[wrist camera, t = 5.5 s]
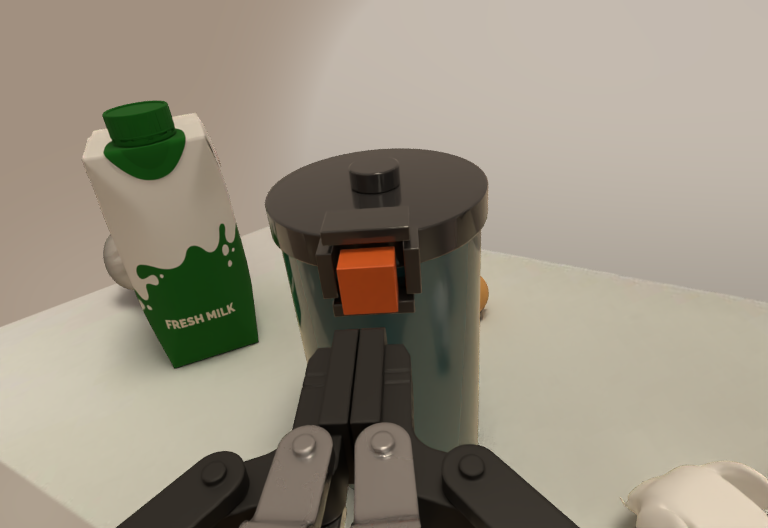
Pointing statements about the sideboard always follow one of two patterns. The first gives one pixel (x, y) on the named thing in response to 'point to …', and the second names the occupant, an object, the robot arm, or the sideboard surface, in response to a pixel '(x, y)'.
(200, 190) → the milk carton
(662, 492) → the elephant figurine
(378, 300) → the lid button
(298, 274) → the jug
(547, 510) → the robot arm
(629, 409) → the sideboard surface
